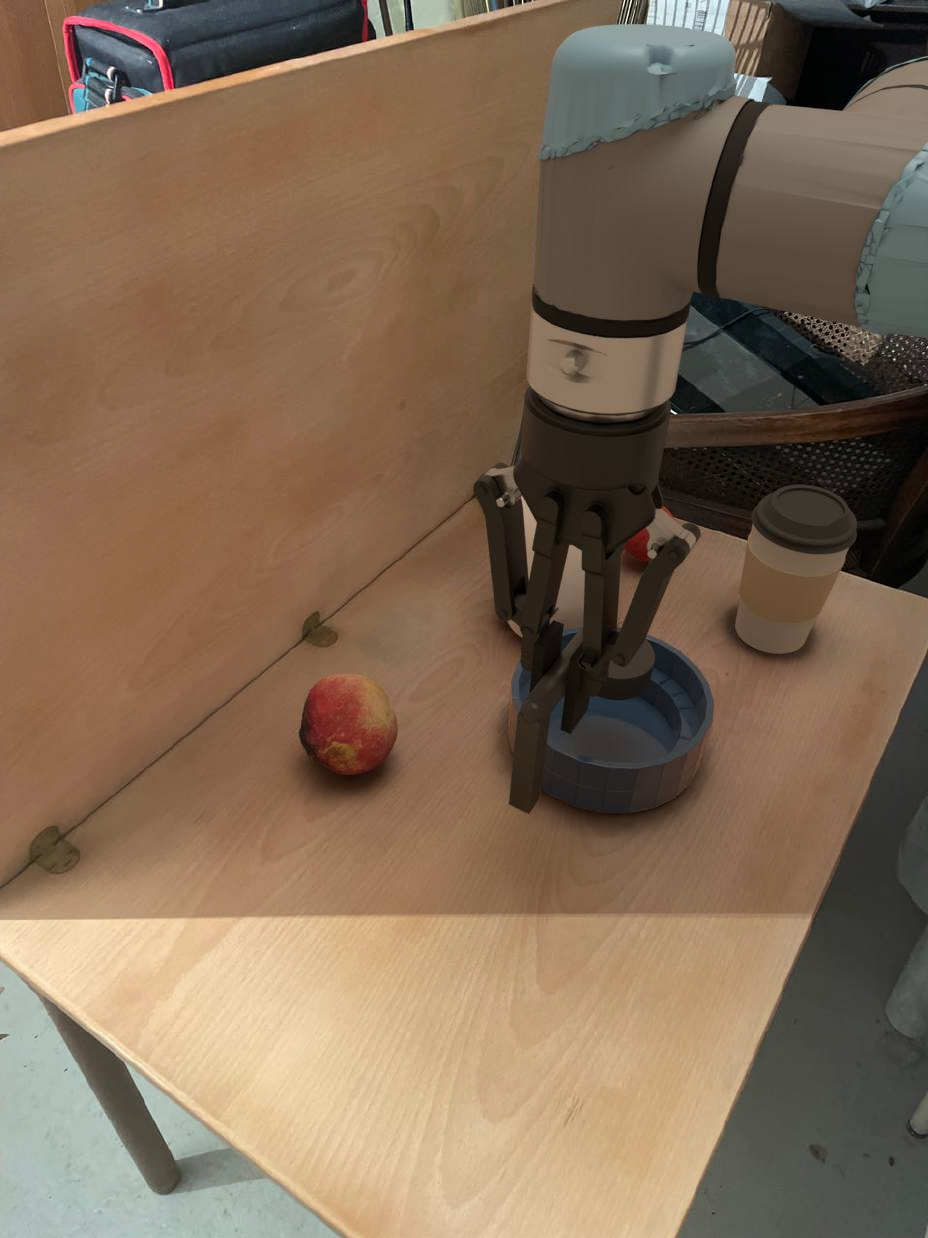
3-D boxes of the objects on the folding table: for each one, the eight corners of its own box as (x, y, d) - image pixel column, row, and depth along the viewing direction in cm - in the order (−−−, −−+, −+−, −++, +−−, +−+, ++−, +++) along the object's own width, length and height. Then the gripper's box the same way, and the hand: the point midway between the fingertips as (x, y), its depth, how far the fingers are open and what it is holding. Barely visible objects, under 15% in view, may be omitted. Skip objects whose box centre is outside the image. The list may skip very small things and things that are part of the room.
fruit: (409, 782, 73) (407, 713, 68) (316, 807, 71) (306, 738, 66) (382, 716, 78) (378, 648, 73) (295, 738, 76) (284, 669, 71)
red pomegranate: (631, 581, 94) (642, 517, 89) (606, 550, 98) (616, 487, 93) (680, 571, 95) (694, 507, 90) (654, 541, 99) (666, 478, 94)
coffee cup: (704, 627, 88) (737, 497, 79) (756, 590, 93) (793, 463, 83) (785, 675, 83) (830, 543, 74) (836, 632, 88) (884, 503, 78)
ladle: (594, 639, 75) (610, 542, 68) (661, 666, 73) (684, 568, 66) (479, 792, 62) (486, 691, 56) (557, 830, 60) (573, 729, 54)
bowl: (725, 718, 79) (740, 669, 75) (656, 851, 68) (670, 801, 64) (560, 652, 85) (565, 603, 81) (473, 764, 74) (475, 714, 71)
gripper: (435, 381, 46) (435, 704, 61) (714, 463, 40) (638, 795, 56) (506, 332, 51) (490, 641, 66) (764, 398, 45) (681, 720, 61)
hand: (557, 711), depth 61 cm, fingers closed on ladle, 2 cm apart
